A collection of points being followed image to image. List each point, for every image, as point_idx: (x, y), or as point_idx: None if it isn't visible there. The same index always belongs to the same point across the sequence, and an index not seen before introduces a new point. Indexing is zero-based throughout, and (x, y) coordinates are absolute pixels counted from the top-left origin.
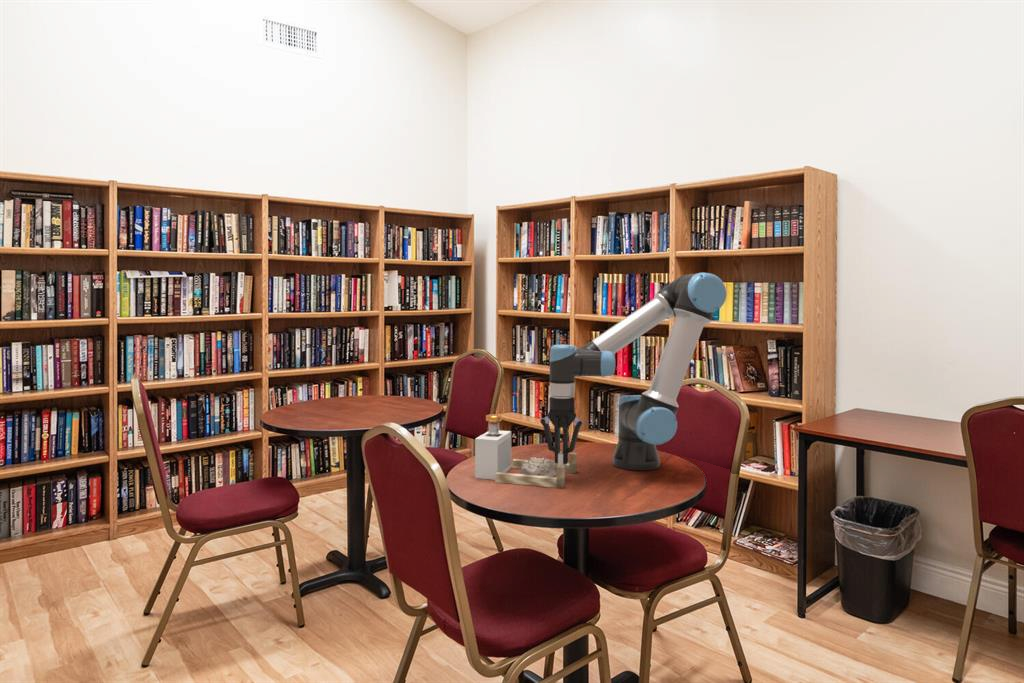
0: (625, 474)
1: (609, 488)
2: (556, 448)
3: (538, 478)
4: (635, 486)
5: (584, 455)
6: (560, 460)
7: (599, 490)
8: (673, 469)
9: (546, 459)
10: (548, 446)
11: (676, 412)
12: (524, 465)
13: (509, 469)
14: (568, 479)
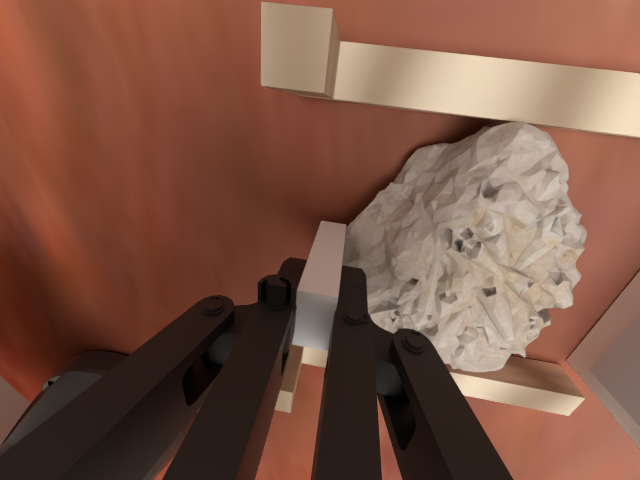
0: (120, 314)
1: (89, 112)
2: (351, 338)
3: (477, 57)
4: (16, 170)
5: (289, 466)
6: (323, 263)
7: (114, 59)
8: (29, 364)
9: (422, 321)
10: (442, 367)
11: None
12: (583, 246)
13: (579, 345)
14: (299, 231)
